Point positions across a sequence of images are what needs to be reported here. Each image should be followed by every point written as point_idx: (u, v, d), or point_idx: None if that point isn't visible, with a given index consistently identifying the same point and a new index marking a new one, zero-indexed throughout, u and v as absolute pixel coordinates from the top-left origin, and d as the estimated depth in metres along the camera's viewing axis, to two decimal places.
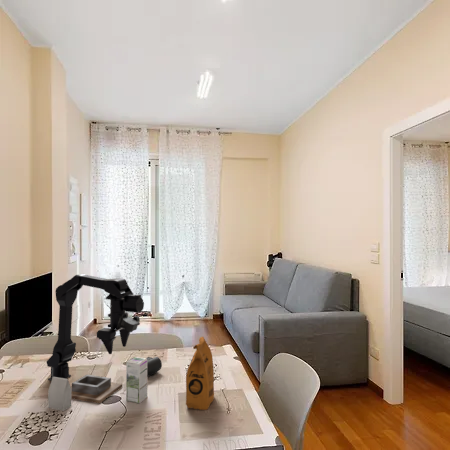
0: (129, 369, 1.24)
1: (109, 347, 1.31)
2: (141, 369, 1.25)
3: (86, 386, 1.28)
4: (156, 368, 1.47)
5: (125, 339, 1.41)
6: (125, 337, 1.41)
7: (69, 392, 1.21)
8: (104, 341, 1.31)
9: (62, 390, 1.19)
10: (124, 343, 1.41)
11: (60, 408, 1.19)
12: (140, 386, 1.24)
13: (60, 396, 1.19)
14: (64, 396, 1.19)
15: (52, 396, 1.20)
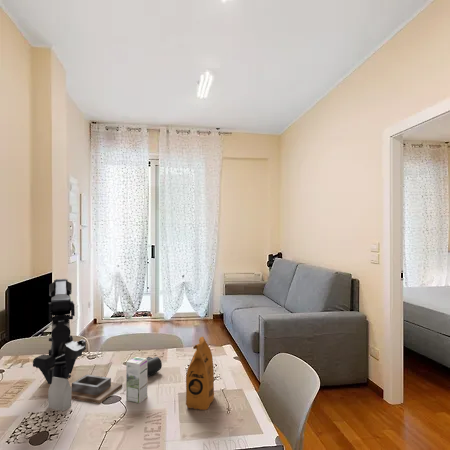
0: (129, 369, 1.24)
1: (48, 376, 1.16)
2: (141, 369, 1.25)
3: (86, 386, 1.28)
4: (156, 368, 1.47)
5: (71, 365, 1.26)
6: (71, 363, 1.26)
7: (69, 392, 1.21)
8: (42, 370, 1.16)
9: (62, 390, 1.19)
10: (69, 370, 1.26)
11: (60, 408, 1.19)
12: (140, 386, 1.24)
13: (60, 396, 1.19)
14: (64, 396, 1.19)
15: (52, 396, 1.20)
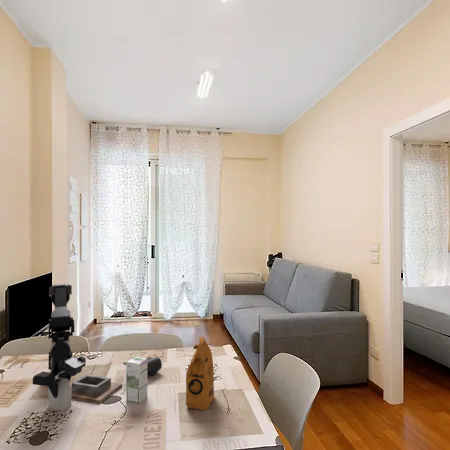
0: (129, 369, 1.24)
1: (54, 390, 1.18)
2: (141, 369, 1.25)
3: (86, 386, 1.28)
4: (156, 368, 1.47)
5: None
6: None
7: (69, 392, 1.21)
8: None
9: (62, 390, 1.19)
10: None
11: (60, 408, 1.19)
12: (140, 386, 1.24)
13: (60, 396, 1.19)
14: (64, 396, 1.19)
15: (52, 396, 1.20)
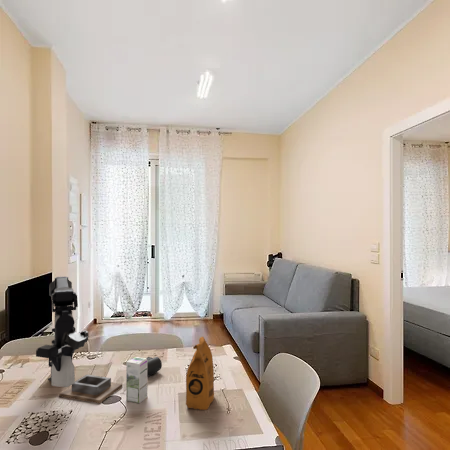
0: (129, 369, 1.24)
1: (57, 364, 1.19)
2: (141, 369, 1.25)
3: (86, 386, 1.28)
4: (156, 368, 1.47)
5: None
6: None
7: (72, 369, 1.22)
8: (51, 357, 1.19)
9: (65, 367, 1.20)
10: None
11: (64, 385, 1.20)
12: (140, 386, 1.24)
13: (63, 373, 1.20)
14: (67, 372, 1.20)
15: (55, 374, 1.21)
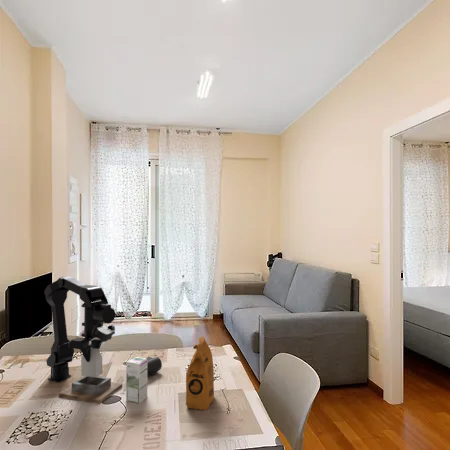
0: (129, 369, 1.24)
1: (87, 355, 1.30)
2: (141, 369, 1.25)
3: (86, 386, 1.28)
4: (156, 368, 1.47)
5: None
6: (96, 348, 1.35)
7: (100, 360, 1.33)
8: (82, 349, 1.30)
9: (94, 358, 1.31)
10: None
11: (93, 375, 1.30)
12: (140, 386, 1.24)
13: (92, 364, 1.30)
14: (96, 363, 1.30)
15: (85, 365, 1.31)
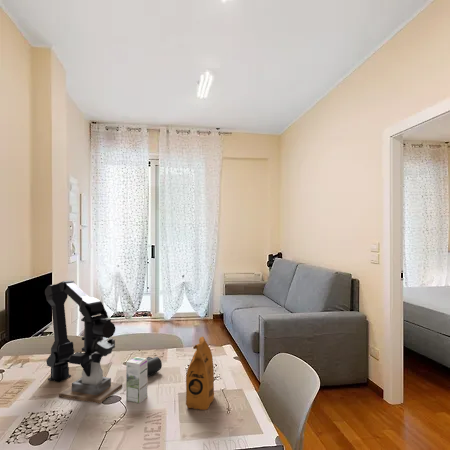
0: (129, 369, 1.24)
1: (87, 369, 1.30)
2: (141, 369, 1.25)
3: (86, 386, 1.28)
4: (156, 368, 1.47)
5: None
6: (96, 362, 1.35)
7: (101, 375, 1.32)
8: (82, 363, 1.30)
9: (95, 373, 1.31)
10: None
11: None
12: (140, 386, 1.24)
13: (93, 378, 1.30)
14: (97, 378, 1.30)
15: (85, 379, 1.31)
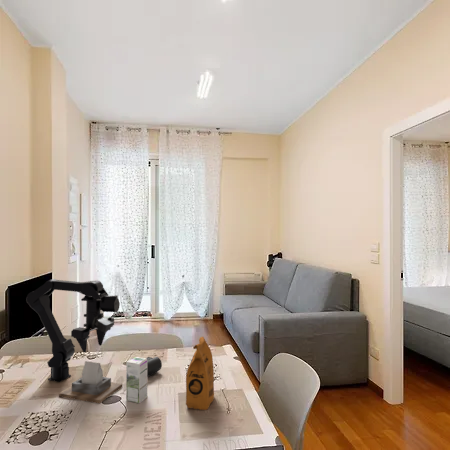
0: (129, 369, 1.24)
1: (83, 345, 1.38)
2: (141, 369, 1.25)
3: (86, 386, 1.28)
4: (156, 368, 1.47)
5: (101, 338, 1.48)
6: (101, 336, 1.48)
7: (101, 375, 1.32)
8: (79, 340, 1.39)
9: (95, 373, 1.31)
10: (100, 342, 1.48)
11: None
12: (140, 386, 1.24)
13: (93, 378, 1.30)
14: (97, 378, 1.30)
15: (85, 379, 1.31)
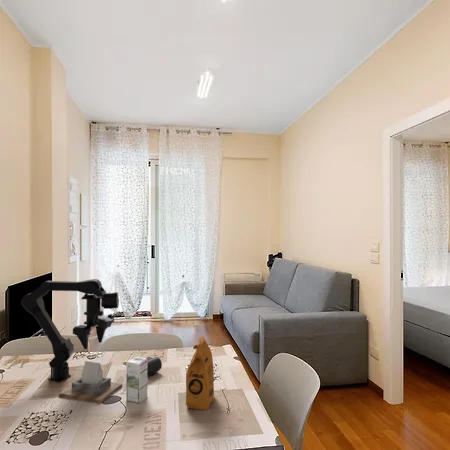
0: (129, 369, 1.24)
1: (84, 342, 1.42)
2: (141, 369, 1.25)
3: (86, 386, 1.28)
4: (156, 368, 1.47)
5: (101, 335, 1.51)
6: (101, 333, 1.51)
7: (101, 375, 1.32)
8: (80, 337, 1.42)
9: (95, 373, 1.31)
10: (100, 339, 1.51)
11: None
12: (140, 386, 1.24)
13: (93, 378, 1.30)
14: (97, 378, 1.30)
15: (85, 379, 1.31)
